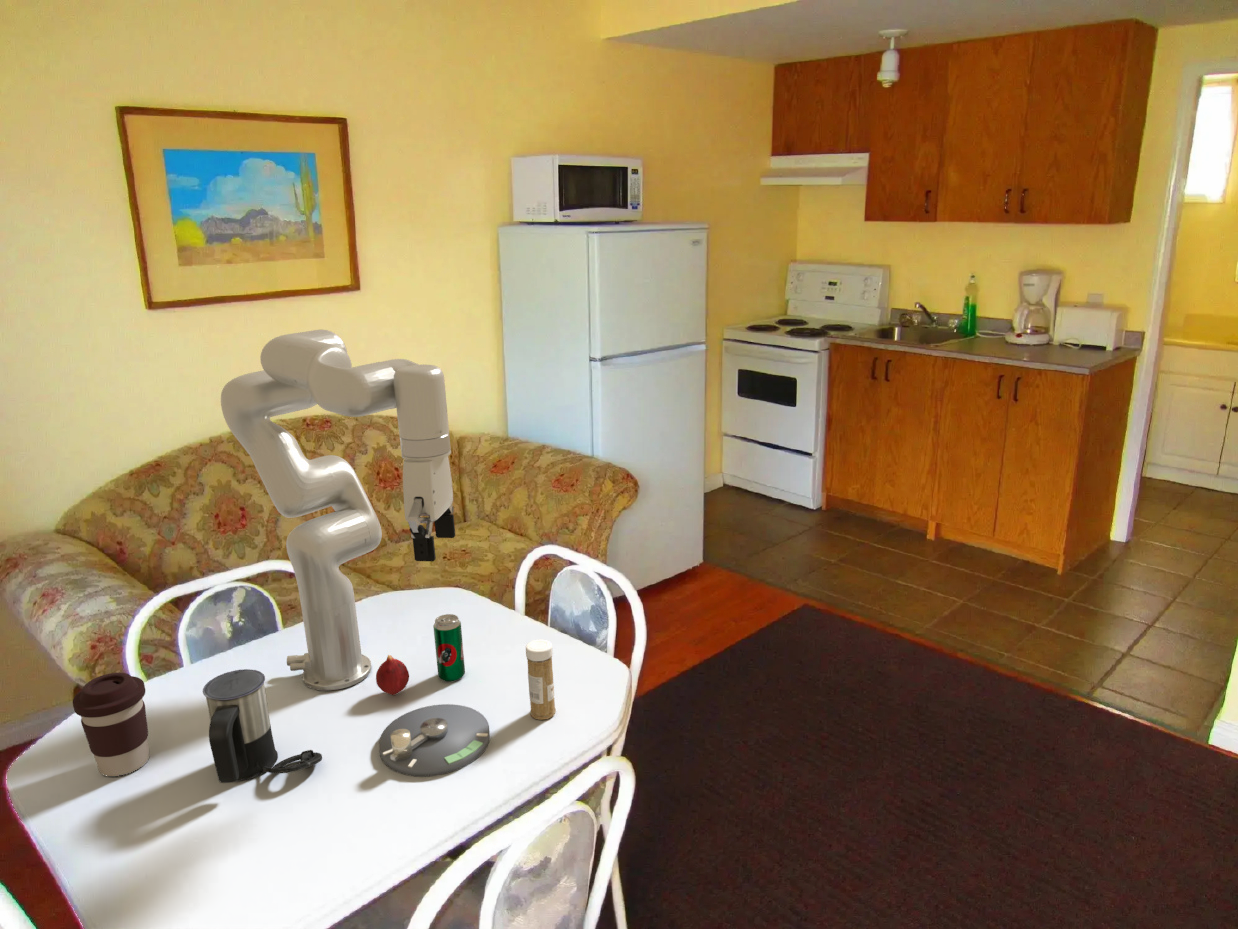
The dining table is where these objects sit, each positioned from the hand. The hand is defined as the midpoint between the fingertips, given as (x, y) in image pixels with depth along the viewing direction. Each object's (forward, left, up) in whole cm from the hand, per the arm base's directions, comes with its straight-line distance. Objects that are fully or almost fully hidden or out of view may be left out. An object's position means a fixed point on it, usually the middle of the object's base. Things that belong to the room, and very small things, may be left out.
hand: (435, 548), depth 138 cm
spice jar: (+15, +2, -33) cm, 37 cm away
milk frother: (-29, -7, -33) cm, 44 cm away
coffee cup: (-53, -3, -33) cm, 62 cm away
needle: (-5, -6, -31) cm, 32 cm away
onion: (-12, +12, -33) cm, 37 cm away
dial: (-3, -4, -33) cm, 34 cm away
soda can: (-2, +17, -33) cm, 38 cm away
